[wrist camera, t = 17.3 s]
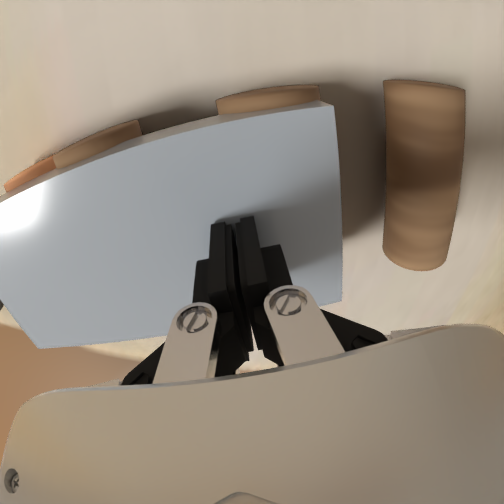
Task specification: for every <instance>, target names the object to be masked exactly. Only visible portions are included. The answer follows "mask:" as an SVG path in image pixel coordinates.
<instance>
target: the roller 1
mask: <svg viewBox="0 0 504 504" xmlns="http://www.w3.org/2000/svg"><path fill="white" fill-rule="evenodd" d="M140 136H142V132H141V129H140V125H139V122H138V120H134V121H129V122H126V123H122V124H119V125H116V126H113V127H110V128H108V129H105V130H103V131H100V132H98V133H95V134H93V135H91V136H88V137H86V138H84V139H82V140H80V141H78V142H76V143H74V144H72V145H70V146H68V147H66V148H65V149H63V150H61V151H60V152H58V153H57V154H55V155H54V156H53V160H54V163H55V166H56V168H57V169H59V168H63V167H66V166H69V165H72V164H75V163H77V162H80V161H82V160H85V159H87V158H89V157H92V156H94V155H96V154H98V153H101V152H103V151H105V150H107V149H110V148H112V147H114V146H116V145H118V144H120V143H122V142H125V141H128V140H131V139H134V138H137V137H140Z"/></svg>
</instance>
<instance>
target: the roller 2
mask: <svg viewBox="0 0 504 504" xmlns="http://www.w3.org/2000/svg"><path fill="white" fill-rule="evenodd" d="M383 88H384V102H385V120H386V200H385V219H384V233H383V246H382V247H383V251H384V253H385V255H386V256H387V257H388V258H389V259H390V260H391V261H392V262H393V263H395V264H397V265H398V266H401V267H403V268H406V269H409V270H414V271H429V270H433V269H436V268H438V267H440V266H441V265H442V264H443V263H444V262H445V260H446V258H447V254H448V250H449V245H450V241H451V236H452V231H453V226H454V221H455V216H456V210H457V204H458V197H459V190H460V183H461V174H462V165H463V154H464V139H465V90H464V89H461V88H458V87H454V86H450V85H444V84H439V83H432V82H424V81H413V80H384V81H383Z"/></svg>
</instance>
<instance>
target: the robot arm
mask: <svg viewBox="0 0 504 504" xmlns="http://www.w3.org/2000/svg"><path fill="white" fill-rule="evenodd" d="M235 228H236V240H237V245H236V241H235V237H234V233H233V229H232V225H231V224H228V225H226V223H225V222H220V223H215V224H211V228H210V245H209V258H208V259H203V260H198V261H197V262H196V269H195V279H194V289H193V300H192V304H189V305H187V306H185V307H183V308H182V309H180V310H179V311H178V312H177V313H176V314H175V316H174V318H173V320H172V322H171V325H170V329H169V332H168V335H167V338H166V341H165V342H164V343H163V344H162V345H161V346H160V347H159V348H157V349H156V350H155V351H154V352H153V353H152V354H150V355H149V356H148V357H147V358H146V359H145V360H143V361H142V362H141V363H140V364H139V365H138V366H137V367H135V368H134V369H133V370H132V371H131V372H129V373H128V375H127V376H126V377H125V378H124V380H123V381H120V380H119V379H115V380H112V381H108V382H104V383H100V384H96V385H92V386H88V387H80V388H66V389H58V390H53V391H49V392H45V393H42V394H40V395H38V396H35V397H33V398H31V399H30V400H28V401H27V402H25V403H24V404H23V405H22V406H21V407H20V409H19V410H18V412H17V414H16V416H15V419H14V421H13V424H12V426H11V429H10V432H9V435H8V438H7V442H6V446H5V450H4V454H3V458H2V463H1V468H0V504H504V335H503V334H502V333H501V332H499V331H498V330H496V329H495V328H492V327H490V326H486V325H481V324H454V325H441V326H434V327H426V328H417V329H408V330H398V331H391V333H390V335H383V334H382V333H381V332H379V331H377V330H375V329H372V328H369V327H367V326H364V325H361V324H359V323H356V322H353V321H351V320H348V319H345V318H343V317H340V316H338V315H335V314H332V313H330V312H327V311H325V310H322V309H320V308H319V307H318V305H317V303H316V302H315V300H314V298H313V297H312V295H311V294H310V292H309V291H308V290H306V289H305V288H303V287H300V286H296V285H293V284H292V280H291V277H290V274H289V270H288V267H287V264H286V261H285V257H284V254H283V251H282V248H281V245H280V244H277V245H272V246H267V247H262V248H260V244H259V239H258V234H257V229H256V224H255V219H254V216H249V217H244V218H240V222H238V223H235ZM251 326H252V330H253V333H254V337H255V341H256V344H257V348H258V350H262V349H263V353H264V357H265V358H267V359H269V360H271V361H273V362H274V363H276V364H277V367H276V368H271V369H265V370H260V371H254V372H248V373H242V374H240V371H239V367H240V366H241V365H242V364H243V363H244V362H245V361H249V353H248V352H251V351H254V348H253V339H252V331H251Z"/></svg>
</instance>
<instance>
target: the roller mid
mask: <svg viewBox="0 0 504 504" xmlns="http://www.w3.org/2000/svg"><path fill="white" fill-rule="evenodd" d="M315 100H319V101H321V100H320V92H319V86H316V85H291V86H279V87H270V88H263V89H257V90H251V91H246V92H241V93H237V94H233V95H229V96H226V97H223V98H220V99H218V100H216V105H217V109H218V114H219V115H222V114H232V113H244V112H252V111H260V110H268V109H274V108H281V107H287V106H293V105H298V104H303V103H308V102H312V101H315Z"/></svg>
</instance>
